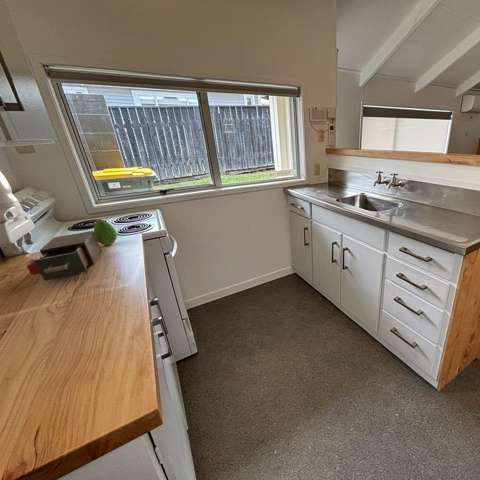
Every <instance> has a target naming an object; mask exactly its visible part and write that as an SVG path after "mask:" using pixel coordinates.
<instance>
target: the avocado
mask: <svg viewBox="0 0 480 480" xmlns="http://www.w3.org/2000/svg"><path fill="white" fill-rule="evenodd" d="M93 231H94V234H95V236H96V239H97V241H98V243H99V244H101V245H103V246H110V245H112V244H113V243H115V242H116V240H117V238H118V233H117V231H116V229H115V228H114V226H112V225H111V223H109V222H108V221H107V220H104V219H98V220H96V221H95V223H94V227H93Z"/></svg>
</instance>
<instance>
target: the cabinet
mask: <svg viewBox="0 0 480 480" xmlns="http://www.w3.org/2000/svg"><path fill="white" fill-rule="evenodd" d="M77 245H83V246H84V248H85V251H86V253H87V255H88V257H89V259H90V262H89V264H88V265H87V267H89V266H94V265H96V263H97V261H98V259H99V257H100V255H101V253H102V252H103V251H102V248H101V246H100V243H99V242H98V241H97V239H96V236H95V234H94V230H89V231H83V232H78V233H77V232H76V233H73V234H66V235H65V234H64V235H59V236H55V237H53V238H51V239H50V240H49V241H48V242H47V243H46V244H45V245H43V247H41V248H40V249H39V252H40V254H41V257H42V256H43V255H44V254H45V253H46V252H47V251H51V250H56V249H61V248H67V247H72V246H77Z"/></svg>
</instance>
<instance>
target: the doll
mask: <svg viewBox="0 0 480 480" xmlns="http://www.w3.org/2000/svg"><path fill="white" fill-rule="evenodd" d="M34 260H35V259H34V258H29V259H27V260H26V264H27V265H26V268H27V270H28V271H29V274H31V275H34V274H39V273H40V271H39V270H38V268H37V266H36V264H35V262H34Z"/></svg>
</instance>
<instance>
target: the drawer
mask: <svg viewBox="0 0 480 480" xmlns="http://www.w3.org/2000/svg"><path fill="white" fill-rule="evenodd" d="M34 262H35V264H36V266H37V268H38V270H39V271H40V272H39V273H40V275H41V277H42V279H43V281H44V282H46V281H51V280H56V279H59V278H65V277H69V276H74V275H77V274H82V273H86V272H88V268H87V267H88V266H87V265H88V264H89V262H90V259H89V257H88V255H87V253H86V251H85V248H84V246H83V245H77V246H72V247H67V248H61V249H56V250H51V251H47V252H46V253H45V254H44V255H43V256H42V255H41V256H40V257H39V258H37V259H34Z"/></svg>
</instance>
